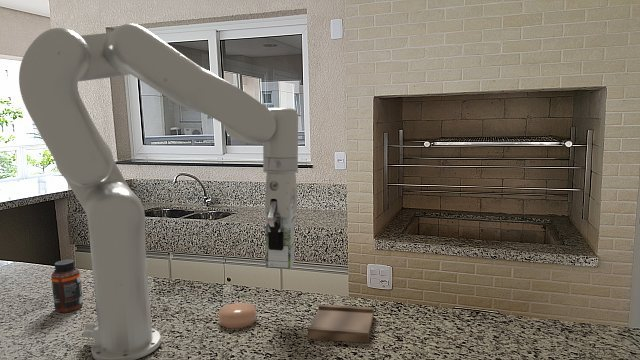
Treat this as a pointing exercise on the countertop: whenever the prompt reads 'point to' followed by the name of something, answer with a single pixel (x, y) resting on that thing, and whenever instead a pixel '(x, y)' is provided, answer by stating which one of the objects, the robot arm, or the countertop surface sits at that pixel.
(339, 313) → the brown flat square block
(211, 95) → the robot arm
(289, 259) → the syrup box
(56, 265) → the supplement bottle
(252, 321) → the peach smooth rounded part
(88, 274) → the countertop surface
